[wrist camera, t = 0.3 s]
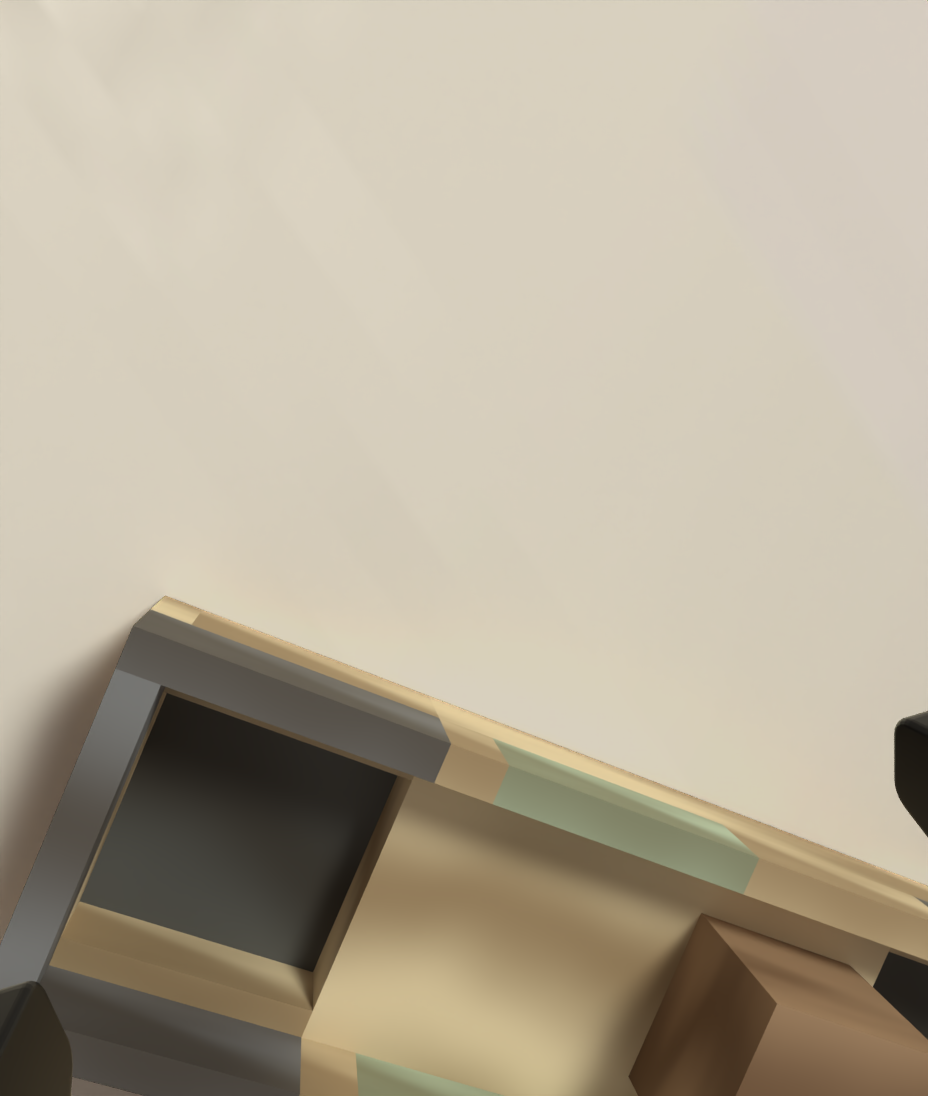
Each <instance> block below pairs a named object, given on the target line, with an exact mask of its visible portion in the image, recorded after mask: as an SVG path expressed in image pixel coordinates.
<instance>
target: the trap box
mask: <svg viewBox="0 0 928 1096" xmlns="http://www.w3.org/2000/svg"><path fill="white" fill-rule="evenodd" d="M701 913H703V914H706V915H708V916H711V917H714V918H717V919H720V920H723V921H726V922H728V923H731V924H734V925H737V926H740V927H743V928H746V929H748V930H751V931H754V932H757V933H760V934H763V935H765V936H768V937H771V938H774V939H777V940H780V941H783V942H785V943H788V944H791V945H794V946H797V947H800V948H803V949H805V950H808V951H811V952H814V953H817V954H820V955H823V956H825V957H828V958H831V959H834V960H837V961H840V962H843V963H845V964H848V965H850V966H851V967H852V968H853V969H854V970H855V971H857V972H858V973H859V974H860V975H861V976H862V977H863V978H864V979H865V980H866V981H867V982H868V983H869V984H870V985H871V986H872V987H873V988H874V989H875V990H876V991H877V992H878V993H879V994H881V995H882V996H883V997H884V998H885V999H886V1000H887V1001H888V1002H889V1003H890V1004H891V1005H892V1006H893V1007H894V1008H895V1009H896V1010H897V1011H898V1012H899V1013H900V1014H901V1015H902V1016H903V1017H905V1018H906V1019H907V1020H908V1021H909V1022H910V1023H911V1024H912V1025H913V1026H914V1027H915V1028H916V1029H917V1030H918V1031H919V1032H920V1033H921V1034H922V1035H923V1036H924V1037H925V1038H926V1039H927V1040H928V886H926V885H924V884H921V883H918V882H916V881H913V880H910V879H908V878H905V877H903V876H900V875H897V874H895V873H892V872H889V871H887V870H884V869H882V868H879V867H876V866H874V865H871V864H868V863H866V862H863V861H861V860H858V859H855V858H853V857H850V856H847V855H845V854H842V853H840V852H837V851H834V850H832V849H829V848H826V847H824V846H821V845H819V844H816V843H813V842H811V841H808V840H805V839H803V838H800V837H798V836H795V835H792V834H790V833H787V832H784V831H782V830H779V829H777V828H774V827H771V826H769V825H766V824H763V823H761V822H758V821H756V820H753V819H750V818H748V817H745V816H742V815H740V814H737V813H734V812H732V811H729V810H727V809H724V808H721V807H719V806H716V805H713V804H711V803H708V802H706V801H703V800H700V799H698V798H695V797H692V796H690V795H687V794H685V793H682V792H679V791H677V790H674V789H671V788H669V787H666V786H664V785H661V784H658V783H656V782H653V781H650V780H648V779H645V778H643V777H640V776H637V775H635V774H632V773H629V772H627V771H624V770H622V769H619V768H616V767H614V766H611V765H608V764H606V763H603V762H601V761H598V760H595V759H593V758H590V757H587V756H585V755H582V754H580V753H577V752H574V751H572V750H569V749H566V748H564V747H561V746H559V745H556V744H553V743H551V742H548V741H545V740H543V739H540V738H538V737H535V736H532V735H530V734H527V733H524V732H522V731H519V730H517V729H514V728H511V727H509V726H506V725H503V724H501V723H498V722H495V721H493V720H490V719H488V718H485V717H482V716H480V715H477V714H474V713H472V712H469V711H467V710H464V709H461V708H459V707H456V706H453V705H451V704H448V703H446V702H443V701H440V700H438V699H435V698H432V697H430V696H427V695H425V694H422V693H419V692H417V691H414V690H411V689H409V688H406V687H404V686H401V685H398V684H396V683H393V682H390V681H388V680H385V679H383V678H380V677H377V676H375V675H372V674H369V673H367V672H364V671H362V670H359V669H356V668H354V667H351V666H348V665H346V664H343V663H341V662H338V661H335V660H333V659H330V658H327V657H325V656H322V655H320V654H317V653H314V652H312V651H309V650H306V649H304V648H301V647H299V646H296V645H293V644H291V643H288V642H285V641H283V640H280V639H277V638H275V637H272V636H270V635H267V634H264V633H262V632H259V631H256V630H254V629H251V628H249V627H246V626H243V625H241V624H238V623H235V622H233V621H230V620H228V619H225V618H222V617H220V616H217V615H214V614H212V613H209V612H207V611H204V610H201V609H199V608H196V607H193V606H191V605H188V604H186V603H183V602H180V601H178V600H175V599H172V598H170V597H167V596H164V597H163V598H162V599H161V600H160V601H159V602H158V603H157V604H156V605H155V606H154V607H153V608H152V609H151V610H149V611H148V612H147V613H146V614H145V615H144V616H143V617H142V618H141V619H140V620H139V621H138V622H137V623H136V624H135V625H134V626H133V628H132V630H131V632H130V635H129V637H128V640H127V642H126V644H125V647H124V649H123V652H122V654H121V656H120V659H119V661H118V664H117V666H116V668H115V671H114V673H113V676H112V678H111V680H110V683H109V685H108V688H107V690H106V692H105V695H104V697H103V700H102V702H101V704H100V707H99V709H98V712H97V714H96V716H95V719H94V721H93V724H92V726H91V728H90V731H89V733H88V736H87V738H86V740H85V743H84V745H83V748H82V750H81V752H80V755H79V757H78V760H77V762H76V764H75V767H74V769H73V772H72V774H71V776H70V779H69V781H68V784H67V786H66V788H65V791H64V793H63V796H62V798H61V800H60V803H59V805H58V808H57V810H56V812H55V815H54V817H53V820H52V822H51V824H50V827H49V829H48V832H47V834H46V836H45V839H44V841H43V844H42V846H41V848H40V851H39V853H38V856H37V858H36V860H35V863H34V865H33V868H32V870H31V872H30V875H29V877H28V880H27V882H26V884H25V887H24V889H23V892H22V894H21V896H20V899H19V901H18V904H17V906H16V908H15V911H14V913H13V916H12V918H11V920H10V923H9V925H8V928H7V930H6V932H5V935H4V937H3V940H2V942H1V944H0V989H3V988H7V987H10V986H13V985H17V984H20V983H23V982H27V981H36V982H38V983H39V984H40V985H42V987H43V988H44V990H45V991H46V993H47V995H48V997H49V999H50V1002H51V1004H52V1006H53V1008H54V1010H55V1012H56V1014H57V1016H58V1018H59V1021H60V1023H61V1025H62V1027H63V1029H64V1031H65V1033H66V1035H67V1037H68V1040H69V1042H70V1046H71V1051H72V1060H73V1071H72V1077H75V1078H79V1079H83V1080H87V1081H91V1082H94V1083H98V1084H102V1085H106V1086H110V1087H113V1088H117V1089H121V1090H125V1091H129V1092H132V1093H136V1094H140V1095H144V1096H638V1095H637V1093H636V1091H635V1089H634V1087H633V1085H632V1083H631V1081H630V1079H629V1077H628V1076H629V1074H630V1072H631V1070H632V1067H633V1065H634V1063H635V1061H636V1058H637V1056H638V1054H639V1052H640V1049H641V1047H642V1045H643V1043H644V1040H645V1038H646V1036H647V1034H648V1031H649V1029H650V1027H651V1025H652V1022H653V1020H654V1018H655V1016H656V1013H657V1011H658V1009H659V1007H660V1004H661V1002H662V1000H663V998H664V995H665V993H666V991H667V989H668V987H669V984H670V982H671V980H672V978H673V975H674V973H675V971H676V969H677V966H678V964H679V962H680V960H681V957H682V955H683V953H684V951H685V948H686V946H687V944H688V942H689V939H690V937H691V935H692V933H693V930H694V928H695V926H696V924H697V921H698V919H699V917H700V915H701Z"/></svg>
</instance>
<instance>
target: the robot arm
mask: <svg viewBox="0 0 928 1096" xmlns="http://www.w3.org/2000/svg"><path fill="white" fill-rule="evenodd" d="M894 778H895V787H896V791H897V794H898V796H899V798H900V800H901V802H902V804H903V805H904V807H905V808H906V809H907V811H908V812H909V813H910V815H911V816H912V817H913V819H914V820H915V821H916V822H917V824H918V825H919V826H920V828H921V829H922V830H923V832H924V833H925V834H926V836H927V837H928V711H926V712H923V713H919V714H916V715H913V716H909V717H906V718H903V719H902V720H900V721H899V722H898V723H897V725H896V727H895V732H894ZM72 1071H73V1060H72V1051H71V1046H70V1042H69V1040H68V1037H67V1035H66V1033H65V1031H64V1029H63V1027H62V1025H61V1023H60V1021H59V1018H58V1016H57V1014H56V1012H55V1010H54V1008H53V1006H52V1004H51V1002H50V999H49V997H48V995H47V993H46V991H45V990H44V988H43V987H42V985H40V984H39V983H38V982H36V981H27V982H23V983H20V984H17V985H13V986H10V987H7V988H3V989H0V1096H71V1084H72Z"/></svg>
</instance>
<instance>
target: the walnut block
mask: <svg viewBox="0 0 928 1096" xmlns="http://www.w3.org/2000/svg"><path fill="white" fill-rule="evenodd" d="M628 1077H629V1079H630V1081H631V1083H632V1085H633V1087H634V1089H635V1091H636V1093H637V1095H638V1096H928V1040H927V1039H926V1038H925V1037H924V1036H923V1035H922V1034H921V1033H920V1032H919V1031H918V1030H917V1029H916V1028H915V1027H914V1026H913V1025H912V1024H911V1023H910V1022H909V1021H908V1020H907V1019H906V1018H905V1017H903V1016H902V1015H901V1014H900V1013H899V1012H898V1011H897V1010H896V1009H895V1008H894V1007H893V1006H892V1005H891V1004H890V1003H889V1002H888V1001H887V1000H886V999H885V998H884V997H883V996H882V995H881V994H879V993H878V992H877V991H876V990H875V989H874V988H873V987H872V986H871V985H870V984H869V983H868V982H867V981H866V980H865V979H864V978H863V977H862V976H861V975H860V974H859V973H858V972H857V971H855V970H854V969H853V968H852V967H851V966H850V965H848V964H845V963H843V962H840V961H837V960H834V959H831V958H828V957H825V956H823V955H820V954H817V953H814V952H811V951H808V950H805V949H803V948H800V947H797V946H794V945H791V944H788V943H785V942H783V941H780V940H777V939H774V938H771V937H768V936H765V935H763V934H760V933H757V932H754V931H751V930H748V929H746V928H743V927H740V926H737V925H734V924H731V923H728V922H726V921H723V920H720V919H717V918H714V917H711V916H708V915H706V914H703V913H701V915H700V917H699V919H698V921H697V924H696V926H695V928H694V930H693V933H692V935H691V937H690V939H689V942H688V944H687V946H686V948H685V951H684V953H683V955H682V957H681V960H680V962H679V964H678V966H677V969H676V971H675V973H674V975H673V978H672V980H671V982H670V984H669V987H668V989H667V991H666V993H665V995H664V998H663V1000H662V1002H661V1004H660V1007H659V1009H658V1011H657V1013H656V1016H655V1018H654V1020H653V1022H652V1025H651V1027H650V1029H649V1031H648V1034H647V1036H646V1038H645V1040H644V1043H643V1045H642V1047H641V1049H640V1052H639V1054H638V1056H637V1058H636V1061H635V1063H634V1065H633V1067H632V1070H631V1072H630V1074H629V1076H628Z"/></svg>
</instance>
